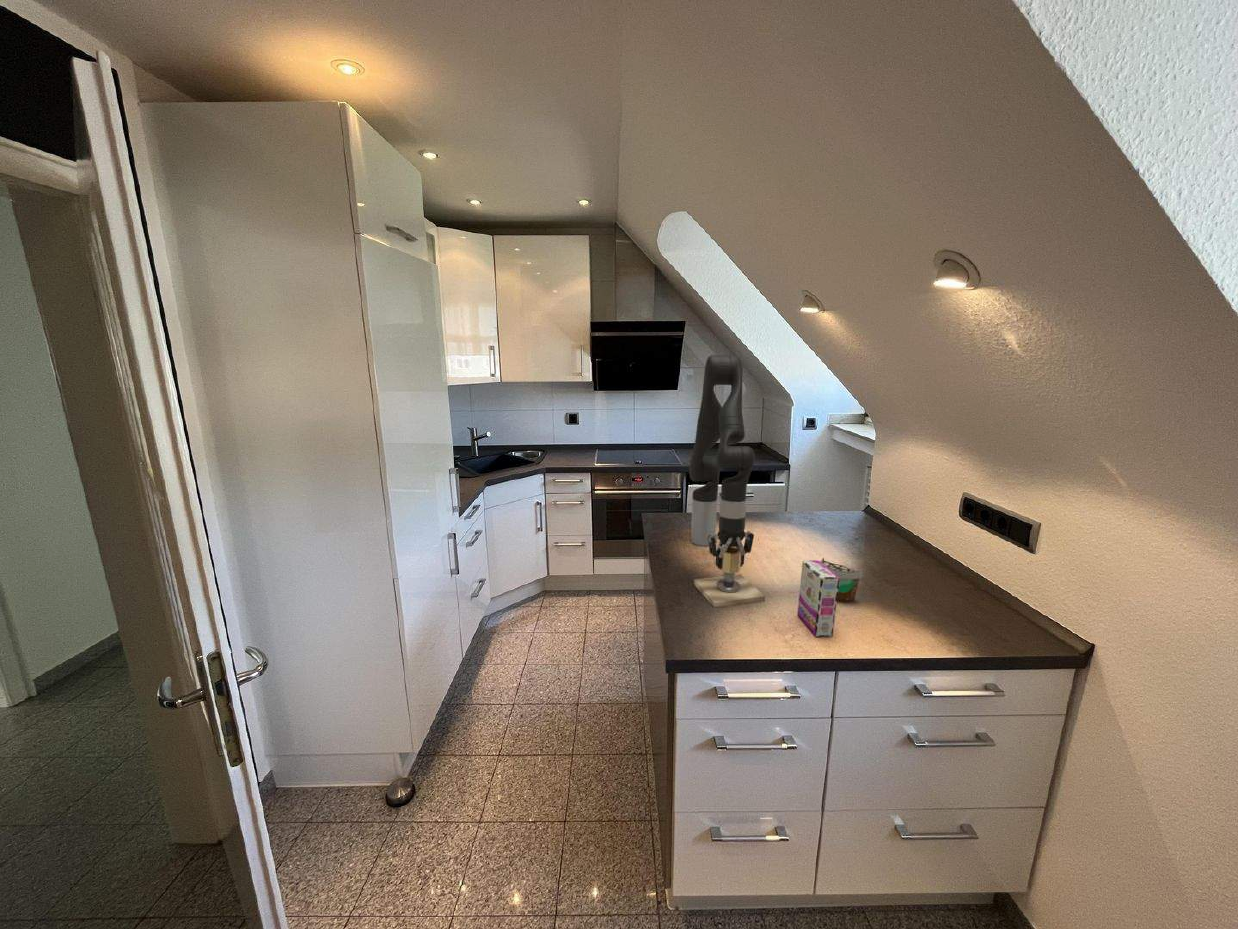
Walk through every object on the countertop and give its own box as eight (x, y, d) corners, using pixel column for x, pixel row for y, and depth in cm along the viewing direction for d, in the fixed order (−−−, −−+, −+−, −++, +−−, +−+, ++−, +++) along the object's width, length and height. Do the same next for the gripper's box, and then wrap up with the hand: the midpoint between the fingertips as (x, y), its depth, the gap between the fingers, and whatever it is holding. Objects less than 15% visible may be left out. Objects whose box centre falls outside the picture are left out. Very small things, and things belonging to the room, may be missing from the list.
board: (693, 583, 152) (694, 579, 151) (740, 578, 156) (740, 574, 155) (714, 607, 138) (714, 602, 137) (764, 601, 141) (765, 596, 141)
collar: (715, 565, 147) (716, 547, 146) (734, 563, 148) (735, 545, 147) (724, 574, 141) (725, 555, 140) (743, 572, 143) (744, 553, 141)
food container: (808, 593, 146) (811, 562, 144) (819, 587, 150) (822, 556, 148) (849, 609, 137) (853, 576, 135) (859, 602, 141) (863, 570, 139)
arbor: (712, 583, 149) (713, 559, 147) (733, 581, 150) (734, 556, 149) (722, 594, 142) (724, 568, 140) (744, 591, 144) (746, 566, 142)
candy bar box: (834, 637, 123) (840, 577, 120) (815, 638, 123) (821, 578, 119) (814, 614, 134) (819, 559, 131) (796, 615, 134) (801, 559, 130)
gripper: (748, 507, 146) (745, 559, 150) (704, 511, 143) (702, 564, 147) (761, 515, 139) (757, 569, 143) (715, 519, 136) (712, 575, 140)
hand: (729, 566), depth 145 cm, fingers closed on collar, 6 cm apart
